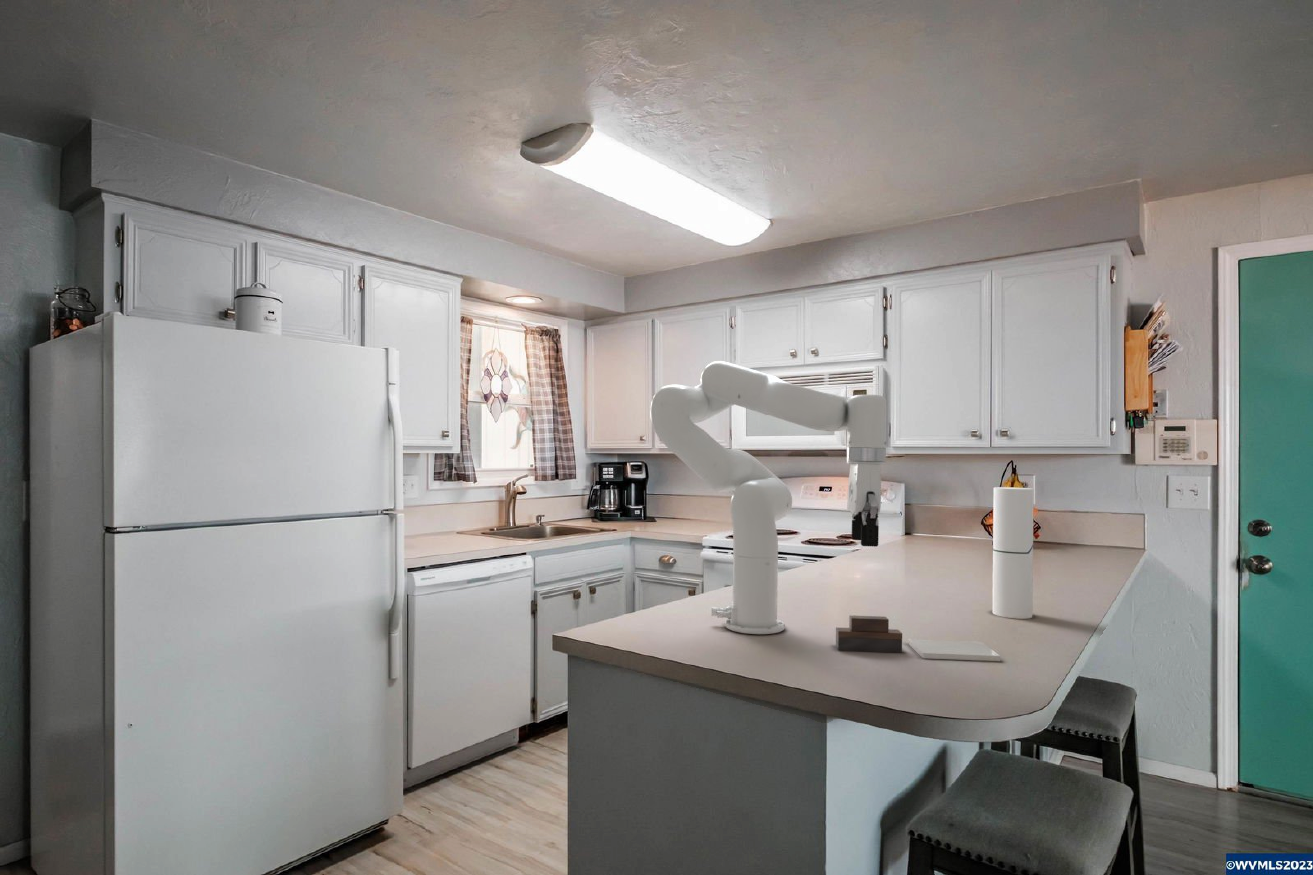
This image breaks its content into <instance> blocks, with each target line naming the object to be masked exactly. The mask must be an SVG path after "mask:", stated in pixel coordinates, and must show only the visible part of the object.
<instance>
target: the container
mask: <svg viewBox="0 0 1313 875" xmlns="http://www.w3.org/2000/svg"><path fill="white" fill-rule="evenodd" d="M1034 491H1035V490H1034V488H1030V487H1015V486H1014V487H1012V486H1011V487H1010V486H1005V487H1004V486H995V487H993V498H992V499H993V503H992V504H993V505H992V506H993V508H992V510H993V512H992V514H993V516H992V518H993V519H992V522H993V523H992V610H991V611H992V614H993V615H995V616H998V617H1002V618H1009V619H1016V620H1017V619H1018V620H1019V619H1021V620H1023V619H1024V620H1026V619H1031V618H1033V608H1034V607H1033V602H1034V601H1033V598H1034V597H1033V595H1034V594H1033V591H1034Z"/></svg>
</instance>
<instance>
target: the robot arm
mask: <svg viewBox="0 0 1313 875" xmlns="http://www.w3.org/2000/svg"><path fill="white" fill-rule="evenodd" d="M734 405H735V406H738V407H742V408H744V409H747V410H750V411H754V412H756V413H760V414H763V415H765V416H771V417H774V418H777V419H779V420H781V421H786V422H788V423H792V424H795V425H798V426H801V427H804V428H808V429H810V430H814V431H824V432H841V431H846V464H847V465H850V466H849V473H848V474H849V475H848V485H847V486H848V487H847V488H848V489H847V505H846V506H847V510H848V511H849V512H850V513H851V514H852V516H851V518H852V519H851V539H852V540H854V541H860V545H861V546H862V547H874V548H875V547H878V546H879V534H880V532H879V530H880V526H879V524H880V523H879V514H880V513H881V509H882V508H881V507H882V506H881V505H882V472H881V470H882V469H881V468H882V467H881V466H882V465H886V462H887V461H886V460H887V459H886V458H887V417H888V416H887V412H888V411H887V410H888V409H887V406H888V404H887V399H886V397H884V396H883V395H880V394H854V395H852V396H850V397H849V396H841V395H836V394H832V393H828V392H823V391H819V390H815V389H811V388H808V387H806V386H805V387H804V386H801V385H797V384H794V383H790V382H787V381H785V380H782V379H781V378H780V377H778V376H776V375H774V374H771V373H767V372H763V371H761V370H760V371H759V370H756V369H754V368H753V369H752V368H749V367H746V366H742V365H740V364H736V363H733V362H728V361H723V360H717V361H716V360H715V361H712V362H711V363H709V364H707V365H706V366H705V367H704V368H703V370H702V372H701V374H700V384H698V385H696V386H690V385H683V384H668V385H664V386H662V387H660V388H659V389H658V390H657V391H656V392H655V393H654V395H653V396H652V399H651V403H650V408H649V409H650V410H649V415H650V421H651V426H652V428H653V430H654V433H655V435H656V436H657V437H658V439H659V440H660V441H661V443H663V445H664V446H665V447H666V448H667V449H668V450H669V451H670V452H672V453H673V454H674V455H675V456H676V457H677V458H678V459H679V460H680V461H682V462H683V463H684V465H686V466H687V468H688V469H690V471H692V472H693V473H694V474H695V475H696V476H697V477H698V478H699V479H700V480H702V481H703V483H704V484H706V486H708V487H709V488H710V489H712V490H714V491H717V492H732V496H731V499H730V506H729V507H730V508H729V509H730V518H731V524H732V536H733V537H732V539H733V540H732V541H733V544H732V547H733V550H732V553H733V554H732V560H733V562H732V602H731V603H730V605H729V606H728V605H726V607H719V606H711V617H716V618H718V619H719V618H720V619H723V618H724V619H725V621H724V626H725V628H726V629H728V630H729V631H732V632H736V633H739V634H740V633H741V634H746V635H747V634H748V635H773V634H778V633H781V632H782V631H784V630H785V623H784V621H782V620H780V619H778V581H779V580H778V579H779V578H778V575H779V573H778V572H779V567H778V566H779V540H778V531H777V525H776V522H777V521H780V520H782V519H783V518H785V517H786V516H787V515H788V514H789V513H790V512H791V510H792V506H793V496H792V492H791V490H790V488H789V487H788V486H787V484H785V482H784V481H782V480H781V479H780V477H778V476H777V475H776V474H774V473H773V472H772V471H771V470H770V469H768V467H766V466H765V465H764V464H763V463H762V462H761V461H760V460H758V459H757V458H756V457H755V456H754V455H752V454H750V452H747V451H745V450H742V449H738V448H728V447H724V446H723V445H722V444H720V443H719V442H718V441H717V440H715V439H714V438H713V437H712V436H711V435H710V434H709V432H707V431H705V429H704V428H702V427H700V426H699V425H697V424H698V423H702V422H704V421H706V420H708V419H710V418H712V417H714V416H716V415H718V414H720V413H722V412H724V411H725V410H727V409H729V408H731V407H733V406H734Z"/></svg>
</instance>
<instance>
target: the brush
mask: <svg viewBox="0 0 1313 875" xmlns="http://www.w3.org/2000/svg"><path fill="white" fill-rule="evenodd" d="M848 618H849V619H848V627H837V626H836V627H835V647H836V649H837V651H843V652H845V651H847V652H873V653H899V654H901V653H903V633H902V632H901V630H899V629H894V628H893V629H892V628H891V629H889V628H890V627H889V626H890V625H889V624H890V623H889V618H888V617H887V616H880V615H878V616H877V615H849V617H848Z"/></svg>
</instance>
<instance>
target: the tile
mask: <svg viewBox="0 0 1313 875" xmlns="http://www.w3.org/2000/svg"><path fill="white" fill-rule="evenodd" d="M908 645H909V646H910V647H911V649H913V650H914V652H916V653H917V654H918V655H919V656H920V657H921V658H922V659H930V660H931V659H933V660H954V661H955V660H957V661H980V662H981V661H982V662H983V661H984V662H1001V660H1002V659H1001V655H1000V654H998V653H997V652H996V651H994V650H993V649H992V648H990V647H989V646H987V644H985V643H983V642H982V641H970V640H969V641H967V640H942V639H941V640H939V639H918V638H917V639H914V638H913V639H912V638H909V639H908Z"/></svg>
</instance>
